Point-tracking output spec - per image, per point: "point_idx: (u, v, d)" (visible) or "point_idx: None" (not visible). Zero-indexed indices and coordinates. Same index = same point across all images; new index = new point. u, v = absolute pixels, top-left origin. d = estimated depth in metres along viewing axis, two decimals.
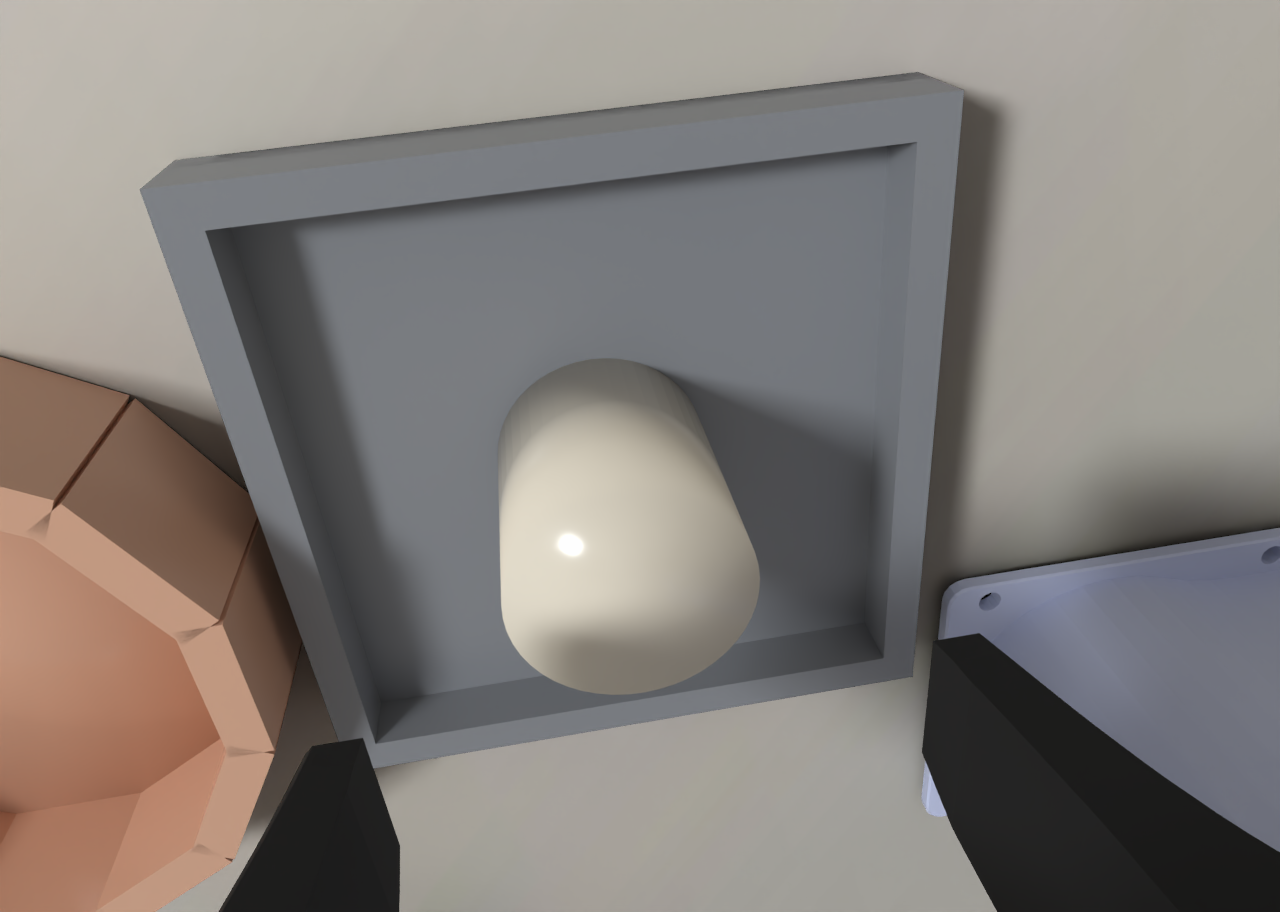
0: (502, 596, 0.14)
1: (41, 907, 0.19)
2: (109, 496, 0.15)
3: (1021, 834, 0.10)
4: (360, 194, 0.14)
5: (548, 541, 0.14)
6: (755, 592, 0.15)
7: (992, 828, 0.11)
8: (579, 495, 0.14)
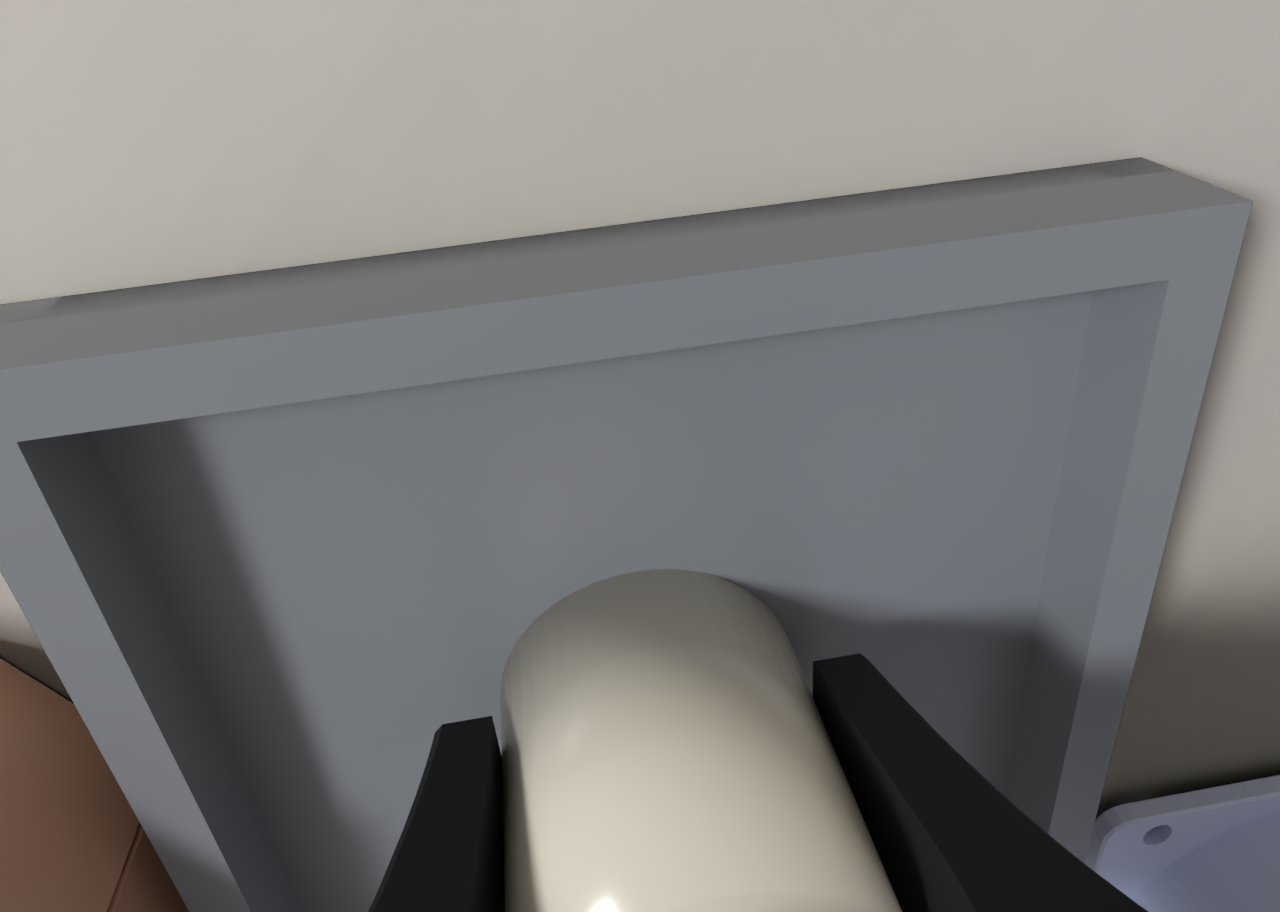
0: None
1: None
2: None
3: (884, 860, 0.10)
4: (274, 380, 0.08)
5: None
6: None
7: None
8: (641, 900, 0.08)
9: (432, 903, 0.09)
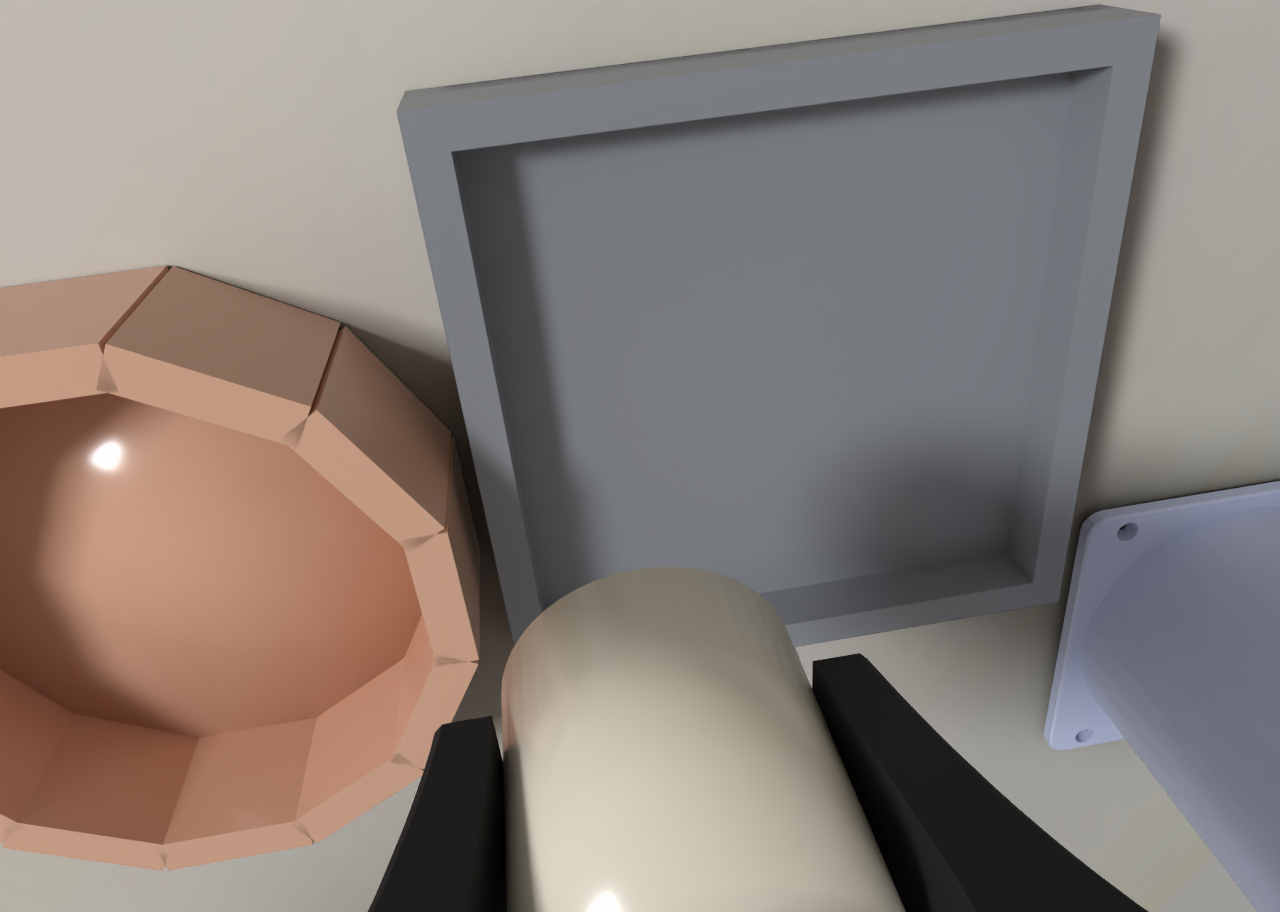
0: None
1: (241, 818, 0.20)
2: (347, 408, 0.16)
3: (884, 860, 0.10)
4: (596, 116, 0.15)
5: None
6: None
7: None
8: (643, 897, 0.08)
9: (432, 903, 0.09)
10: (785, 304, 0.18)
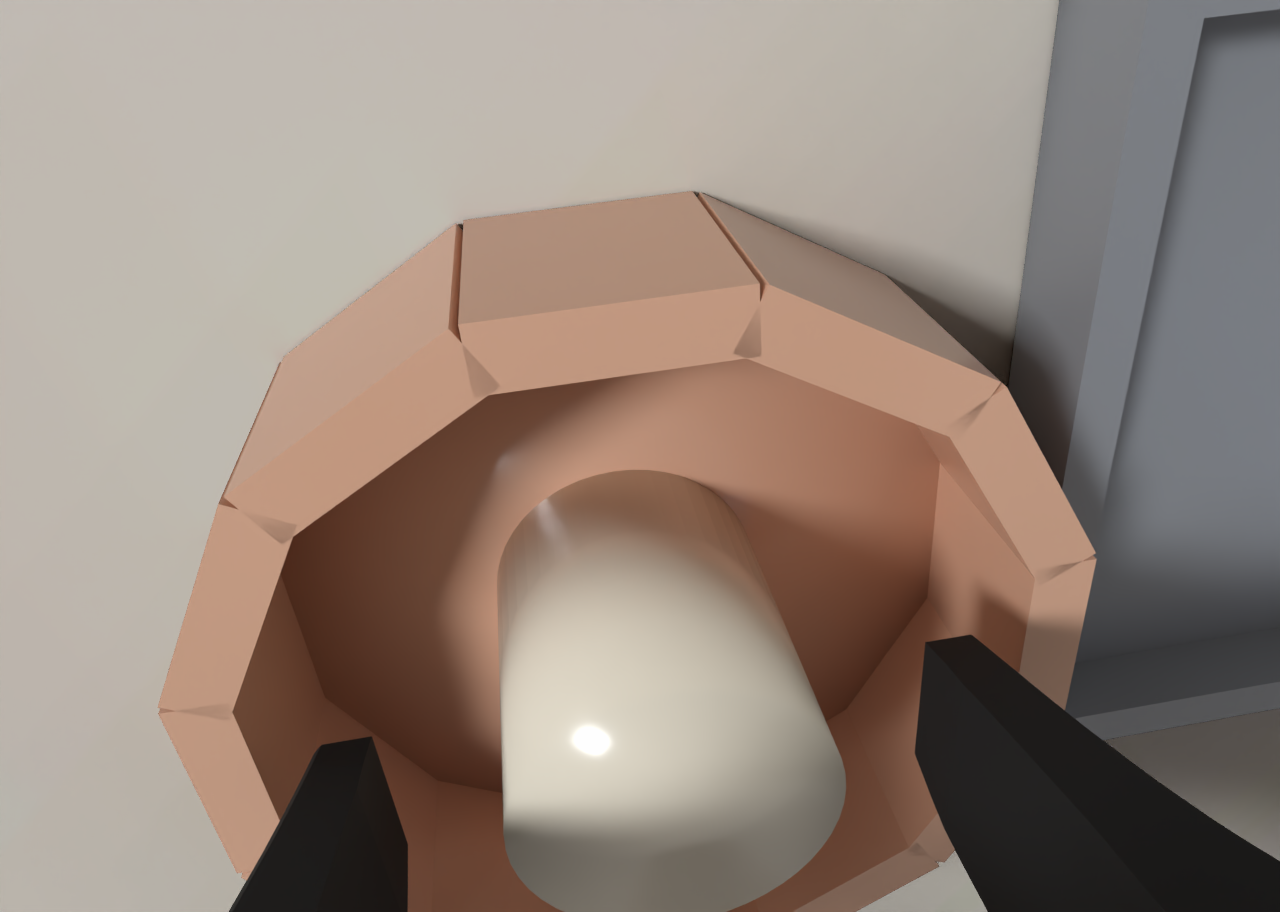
0: (505, 824, 0.10)
1: None
2: None
3: (1012, 836, 0.10)
4: None
5: (567, 759, 0.10)
6: (839, 805, 0.11)
7: (983, 830, 0.11)
8: (610, 698, 0.10)
9: None
10: None
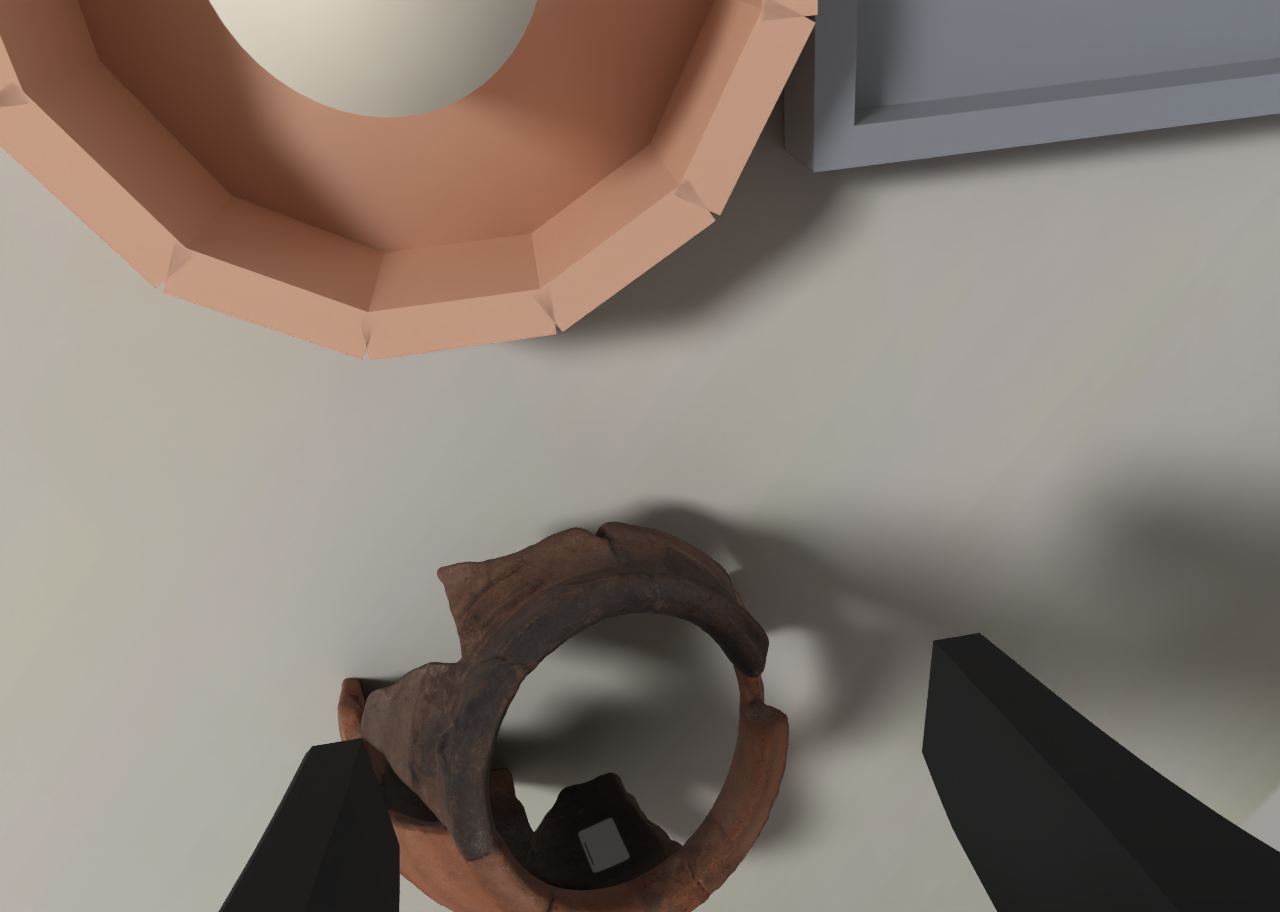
0: None
1: (467, 291, 0.15)
2: None
3: (1021, 834, 0.10)
4: None
5: None
6: None
7: (992, 828, 0.11)
8: None
9: None
10: None
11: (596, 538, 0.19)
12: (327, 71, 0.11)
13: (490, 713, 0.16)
